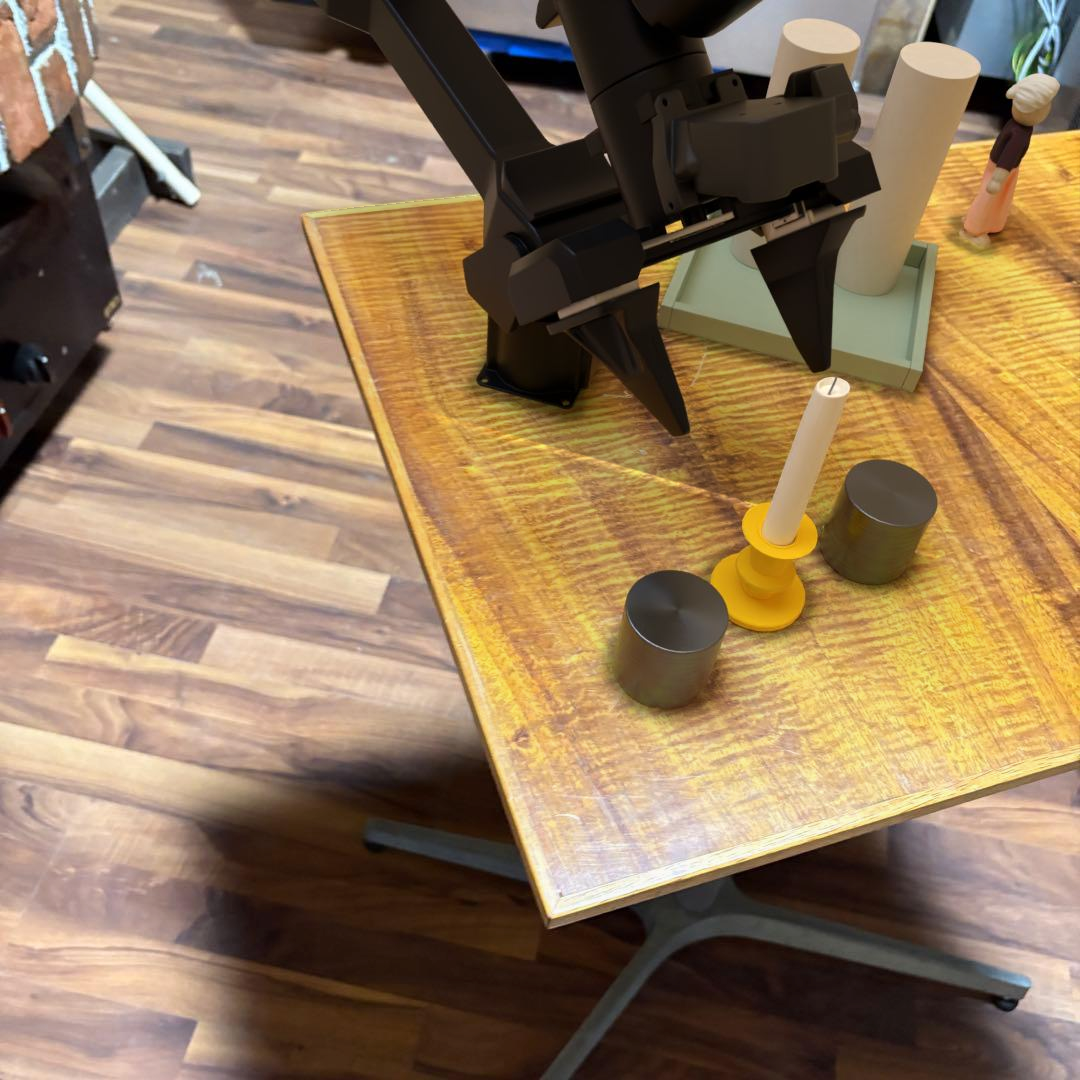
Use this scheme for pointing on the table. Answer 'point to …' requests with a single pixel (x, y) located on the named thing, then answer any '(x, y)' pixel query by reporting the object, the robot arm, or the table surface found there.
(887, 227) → the cream candles
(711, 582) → the candle
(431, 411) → the table surface
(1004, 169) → the grandmother figurine
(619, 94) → the robot arm
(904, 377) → the tray
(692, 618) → the grey tins
